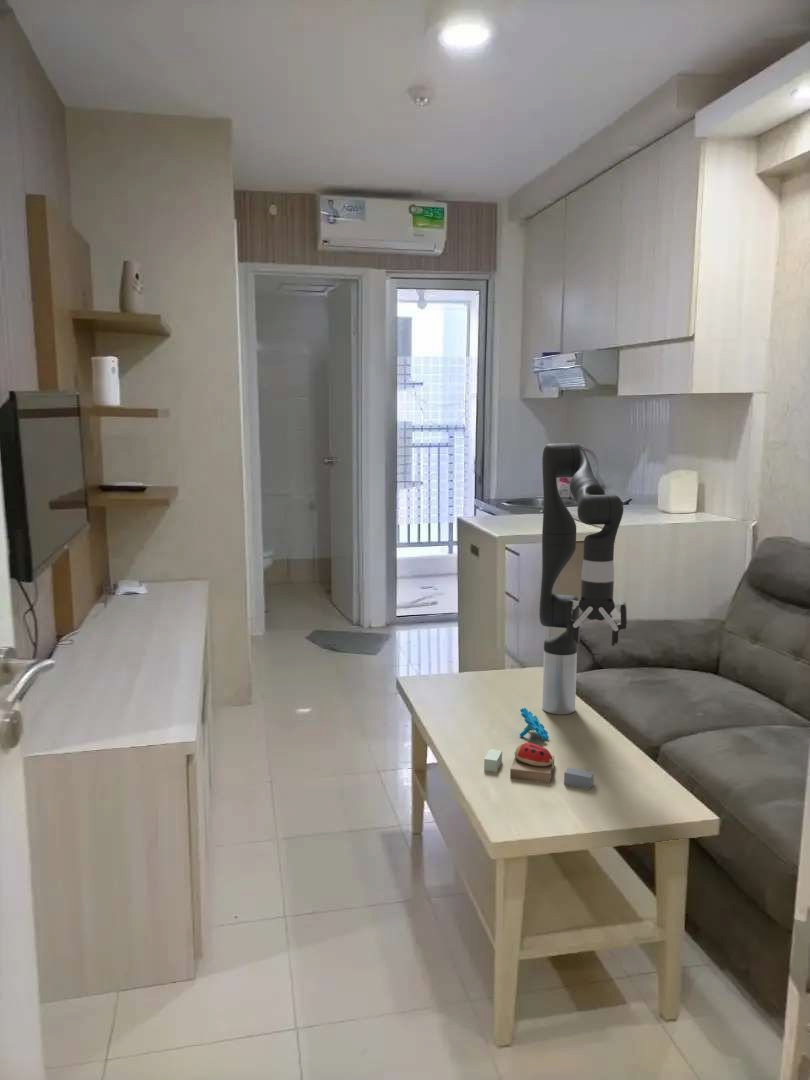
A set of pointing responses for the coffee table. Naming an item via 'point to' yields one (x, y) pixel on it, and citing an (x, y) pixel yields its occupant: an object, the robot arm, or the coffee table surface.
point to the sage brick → (493, 760)
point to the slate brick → (579, 778)
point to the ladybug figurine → (533, 754)
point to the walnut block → (531, 771)
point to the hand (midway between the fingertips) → (595, 643)
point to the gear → (533, 724)
